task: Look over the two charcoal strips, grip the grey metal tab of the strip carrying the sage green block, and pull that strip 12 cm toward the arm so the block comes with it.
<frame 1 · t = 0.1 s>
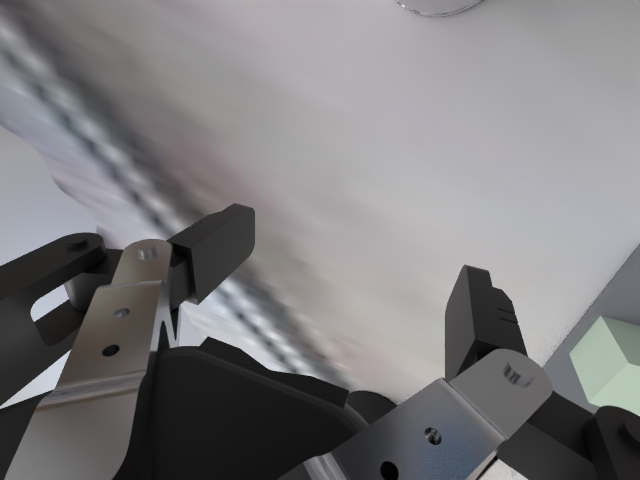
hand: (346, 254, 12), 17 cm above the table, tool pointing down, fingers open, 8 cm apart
pen holder: (372, 409, 45), on the table
block: (616, 345, 27), point 1 cm above the table, touching strip A
strip A: (599, 393, 27), point 3 cm above the table, slide at 0.0 cm, touching block
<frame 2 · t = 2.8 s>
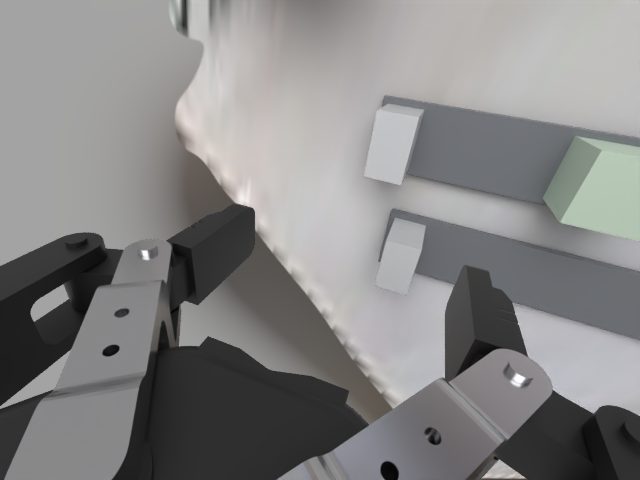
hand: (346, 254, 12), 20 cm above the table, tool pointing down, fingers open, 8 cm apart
strip B: (525, 289, 27), point 3 cm above the table, slide at 0.0 cm
block: (594, 175, 24), point 1 cm above the table, touching strip A
strip A: (543, 171, 23), point 3 cm above the table, slide at 0.0 cm, touching block
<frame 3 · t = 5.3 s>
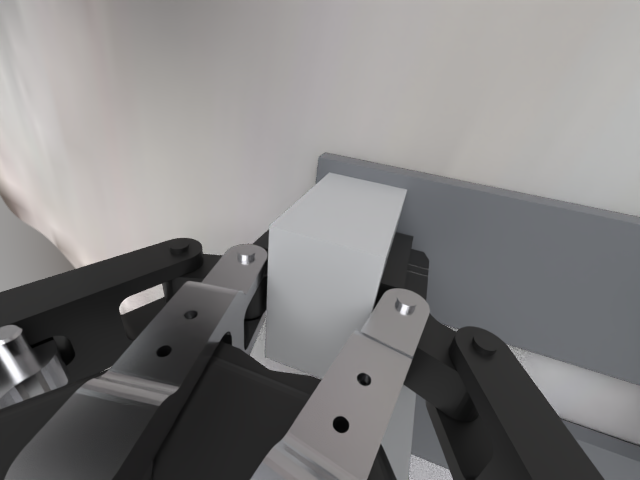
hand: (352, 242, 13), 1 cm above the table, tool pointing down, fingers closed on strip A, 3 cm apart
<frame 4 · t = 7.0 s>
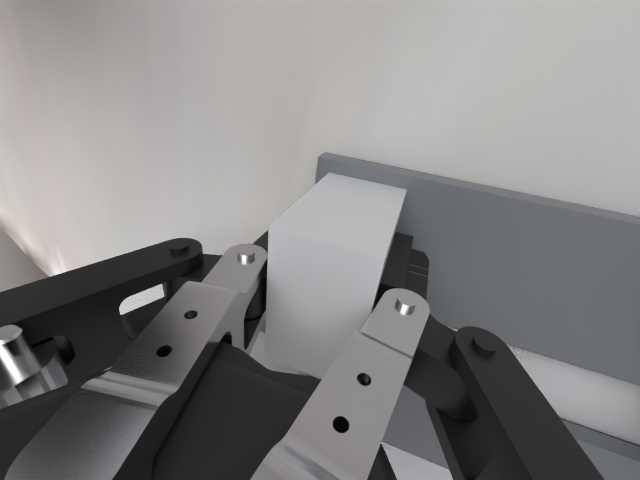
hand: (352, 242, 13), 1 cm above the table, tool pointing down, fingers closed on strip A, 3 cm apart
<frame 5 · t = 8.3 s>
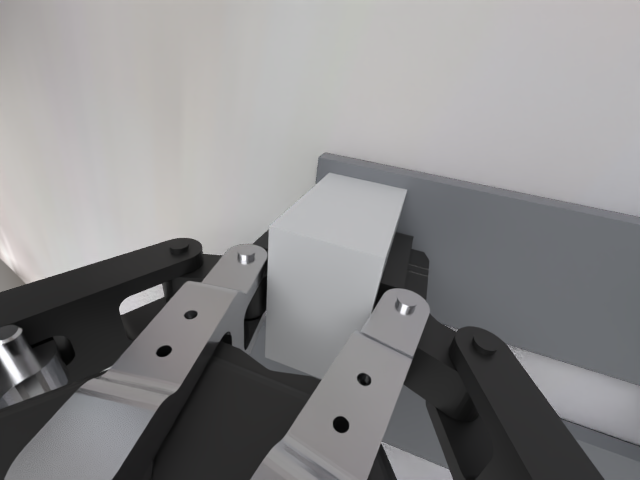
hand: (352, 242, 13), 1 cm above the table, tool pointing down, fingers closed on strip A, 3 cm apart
strip B: (355, 437, 16), point 3 cm above the table, slide at 0.0 cm
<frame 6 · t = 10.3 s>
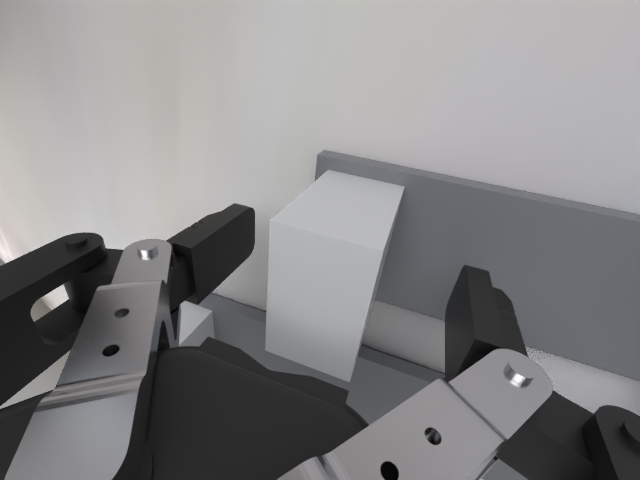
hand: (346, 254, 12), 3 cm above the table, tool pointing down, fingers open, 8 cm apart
strip B: (349, 430, 16), point 3 cm above the table, slide at 0.0 cm
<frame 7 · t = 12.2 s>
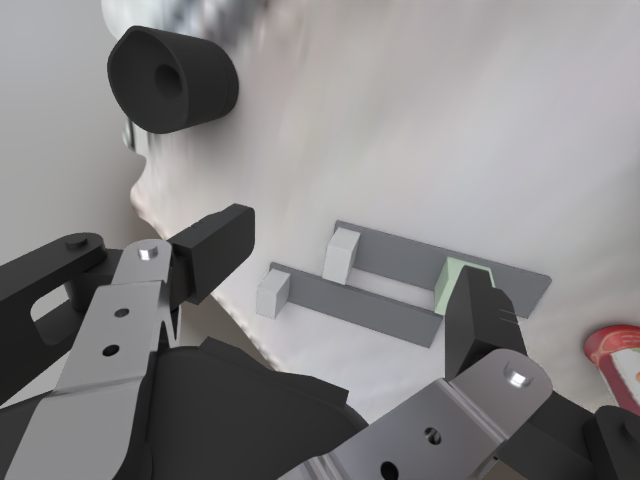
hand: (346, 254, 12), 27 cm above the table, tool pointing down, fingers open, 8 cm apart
pen holder: (210, 81, 39), on the table
strip B: (344, 314, 45), point 3 cm above the table, slide at 0.0 cm
block: (461, 278, 39), point 1 cm above the table, touching strip A
strip A: (428, 278, 38), point 3 cm above the table, slide at 12.0 cm, touching block
liquor: (614, 338, 38), on the table
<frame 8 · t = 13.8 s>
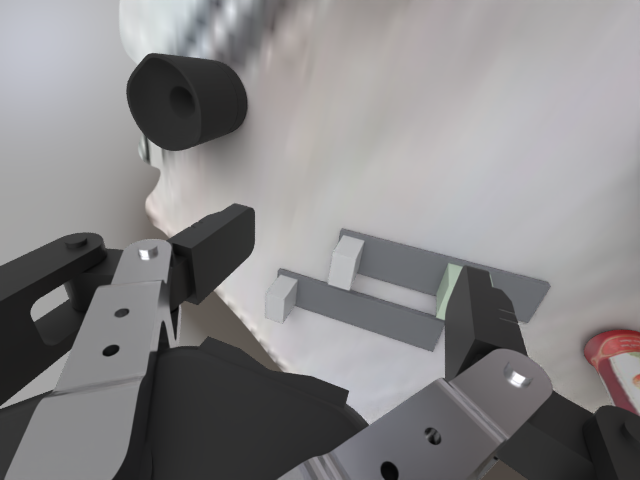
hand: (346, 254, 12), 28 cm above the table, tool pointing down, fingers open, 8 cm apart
pen holder: (220, 98, 41), on the table
strip B: (349, 319, 47), point 3 cm above the table, slide at 0.0 cm
block: (462, 284, 40), point 1 cm above the table, touching strip A
strip A: (430, 284, 40), point 3 cm above the table, slide at 12.0 cm, touching block
liquor: (614, 343, 38), on the table
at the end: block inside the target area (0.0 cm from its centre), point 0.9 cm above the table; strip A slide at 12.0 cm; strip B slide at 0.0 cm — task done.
